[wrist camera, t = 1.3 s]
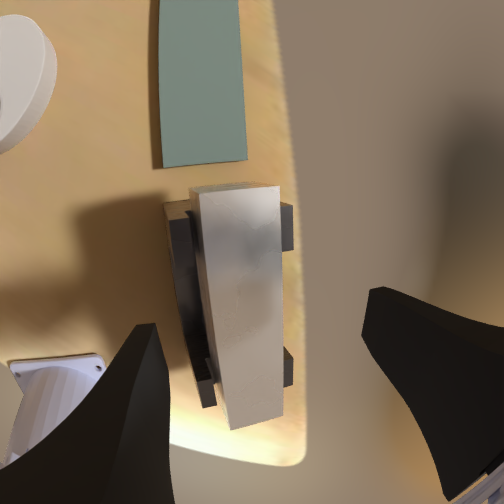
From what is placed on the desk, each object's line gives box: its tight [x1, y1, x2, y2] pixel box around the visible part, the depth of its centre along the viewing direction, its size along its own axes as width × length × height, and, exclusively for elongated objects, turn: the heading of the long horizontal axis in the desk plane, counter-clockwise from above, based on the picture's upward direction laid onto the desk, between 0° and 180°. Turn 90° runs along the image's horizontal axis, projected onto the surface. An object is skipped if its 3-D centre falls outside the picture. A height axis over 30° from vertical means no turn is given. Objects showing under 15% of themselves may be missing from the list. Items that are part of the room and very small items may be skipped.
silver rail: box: [189, 181, 283, 430], centre depth 14 cm, size 12×3×3 cm, turn 4°
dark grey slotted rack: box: [163, 199, 294, 408], centre depth 16 cm, size 10×5×6 cm, turn 4°
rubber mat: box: [158, 0, 248, 168], centre depth 14 cm, size 16×5×1 cm, turn 4°
